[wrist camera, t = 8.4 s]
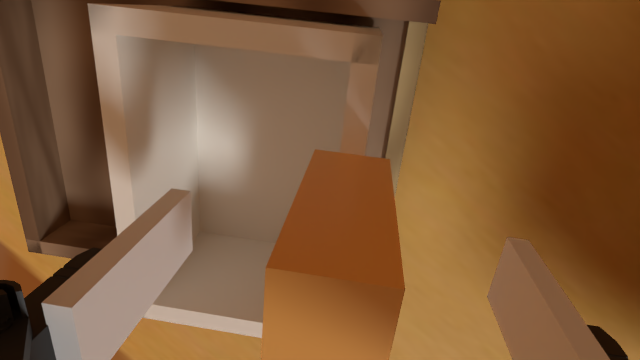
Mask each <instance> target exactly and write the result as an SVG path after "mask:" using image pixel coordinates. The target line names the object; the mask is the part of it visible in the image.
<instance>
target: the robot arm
mask: <svg viewBox="0 0 640 360" xmlns="http://www.w3.org/2000/svg"><path fill="white" fill-rule="evenodd" d="M192 251H193V242H192V217H191V191H187V190H180V189H173V188H171V189H170V190H169V191H168V192H167V193H166V194H165V195H163V196H162V197H161V198H160V199H159V200H158V201H157V202H155V203H154V204H153V205H152V206H151V207H150V208H149V209H147V210H146V211H145V212H144V213H143V214H142V215H141V216H139V217H138V218H137V219H136V220H135V221H134V222H133V223H132V224H130V225H129V226H128V227H127V228H126V229H125V230H124V231H122V232H121V233H120V234H119V235H118V236H117V237H116V238H114V239H113V240H112V241H111V242H110V243H109V244H108V245H107V246H105V247H104V248H103V249H100V248H94V247H93V248H91V249H89V250H87V251H85V252H83V253H80V254H78V255H76V256H75V257H74V258H73V259H71V260H70V261H69V262H68V263H67V264H65V265H64V267H63V268H60V269H59V270H58V271H57V272H56V273H54V274H53V277H50V278H48V279H47V280H46V281H45V282H43V283H42V284H41V285H40V286H39V287H37V288H36V289H35V290H34V291H33V292H31V293H30V294H29V295H28V296H27V297H25V298H24V297H23V293H22V290H21V286H20V284H18V283H16V282H15V281H8V280H0V360H111V358H112V357H113V356H114V354H115V353H116V352H117V350H118V349H119V348H120V346H121V345H122V344H123V342H124V341H125V340H126V338H127V337H128V336H129V334H130V333H131V332H132V330H133V329H134V328H135V327H136V325H137V324H138V323H139V321H140V320H141V319H142V317H143V316H144V315H145V313H146V312H147V311H148V309H149V308H150V307H151V305H152V304H153V303H154V301H155V300H156V299H157V297H158V296H159V295H160V293H161V292H162V291H163V289H164V288H165V287H166V285H167V284H168V283H169V281H170V280H171V279H172V277H173V276H174V275H175V273H176V272H177V271H178V269H179V268H180V267H181V265H182V264H183V263H184V261H185V260H186V259H187V257H188V256H189V255H190V253H191V252H192ZM487 297H488V300H489V302H490V305H491V307H492V310H493V312H494V315H495V317H496V320H497V322H498V325H499V327H500V330H501V332H502V335H503V337H504V340H505V342H506V345H507V347H508V350H509V352H510V355H511V357H512V360H628V356H627V355H626V354H625V352H624V351H623V350H622V348H621V347H620V345H619V344H618V343H617V341H615V340H614V339H613V338H612V337H611V336H610V335H608V334H607V333H606V332H605V331H604V330H603V329H601V328H600V327H598V326H592V325H586V323H585V322H584V320H583V319H582V318H581V316H580V315H579V313H578V312H577V310H576V309H575V307H574V306H573V304H572V303H571V301H570V300H569V298H568V297H567V296H566V294H565V293H564V291H563V290H562V288H561V287H560V285H559V284H558V282H557V281H556V279H555V278H554V276H553V275H552V273H551V272H550V271H549V269H548V268H547V266H546V265H545V263H544V262H543V260H542V259H541V257H540V256H539V254H538V253H537V251H536V250H535V249H534V247H533V246H532V244H531V243H530V241H529V240H525V239H518V238H511V237H507V239H506V242H505V245H504V248H503V251H502V254H501V257H500V260H499V263H498V266H497V269H496V272H495V275H494V278H493V281H492V284H491V287H490V290H489V293H488V296H487Z"/></svg>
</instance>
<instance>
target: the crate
mask: <svg viewBox="0 0 640 360" xmlns="http://www.w3.org/2000/svg"><path fill="white" fill-rule="evenodd" d="M87 4H88V12H89V20H90V27H91V35H92V43H93V51H94V59H95V66H96V74H97V82H98V90H99V97H100V105H101V113H102V121H103V128H104V136H105V144H106V152H107V159H108V167H109V175H110V183H111V191H112V198H113V206H114V214H115V222H116V229H117V236H118V235H119V234H120V233H121V232H122V231H124V230H125V229H126V228H127V227H128V226H129V225H130V224H132V223H133V222H134V221H135V220H136V219H137V218H138V217H139V216H141V215H142V214H143V213H144V212H145V211H146V210H147V209H149V208H150V207H151V206H152V205H153V204H154V203H155V202H157V201H158V200H159V199H160V198H161V197H162V196H163V195H165V194H166V193H167V192H168V191H169V190H170V189H171V188H173V189H180V190H187V191H191V217H192V242H193V251H192V252H191V253H190V255H189V256H188V257H187V259H186V260H185V261H184V263H183V264H182V265H181V267H180V268H179V269H178V271H177V272H176V273H175V275H174V276H173V277H172V279H171V280H170V281H169V283H168V284H167V285H166V287H165V288H164V289H163V291H162V292H161V293H160V295H159V296H158V297H157V299H156V300H155V301H154V303H153V304H152V305H151V307H150V308H149V309H148V311H147V312H146V313H145V315H144V316H143V317H142V318H148V319H154V320H160V321H166V322H172V323H177V324H183V325H189V326H195V327H201V328H207V329H213V330H218V331H224V332H230V333H236V334H242V335H248V336H253V337H259V338H262V348H261V360H389V357H390V352H391V348H392V344H393V339H394V335H395V331H396V326H397V322H398V318H399V313H400V309H401V305H402V300H403V296H404V291H405V285H404V277H403V268H402V259H401V251H400V242H399V233H398V225H397V216H396V207H395V199H394V190H393V181H392V173H391V164H390V159H385V158H377V157H370V156H365V151H366V145H367V138H368V131H369V125H370V118H371V112H372V105H373V99H374V92H375V86H376V79H377V72H378V66H379V59H380V53H381V46H382V40H383V35H382V32H381V30H380V28H379V27H370V26H361V25H352V24H342V23H333V22H324V21H315V20H306V19H297V18H288V17H279V16H269V15H260V14H251V13H242V12H233V11H224V10H215V9H205V8H196V7H187V6H165V5H130V4H94V3H87Z"/></svg>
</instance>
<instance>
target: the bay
mask: <svg viewBox="0 0 640 360" xmlns="http://www.w3.org/2000/svg"><path fill="white" fill-rule="evenodd" d="M440 2H441V1H439V0H0V133H1V138H2V142H3V146H4V150H5V154H6V159H7V163H8V167H9V171H10V175H11V179H12V184H13V188H14V192H15V196H16V200H17V205H18V209H19V213H20V217H21V221H22V225H23V230H24V234H25V238H26V242H27V246H28V251H29V252H35V253H41V254H47V255H53V256H59V257H66V258H72V259H73V258H74V257H75V256H76V255H78V254H80V253H83V252H85V251H87V250H89V249H91V248H93V247H94V248H100V249H103V248H104V247H105V246H107V245H108V244H109V243H110V242H111V241H112V240H113V239H114V238H116V237H117V229H116V222H115V214H114V206H113V198H112V191H111V183H110V175H109V167H108V159H107V152H106V144H105V136H104V128H103V121H102V113H101V105H100V97H99V90H98V82H97V74H96V66H95V59H94V51H93V43H92V35H91V27H90V20H89V12H88V4H87V3H94V4H130V5H165V6H187V7H196V8H205V9H215V10H224V11H233V12H242V13H251V14H260V15H269V16H279V17H288V18H297V19H306V20H315V21H324V22H333V23H342V24H352V25H361V26H370V27H379V28H380V30H381V32H382V35H383V40H382V46H381V53H380V59H379V66H378V72H377V79H376V86H375V92H374V99H373V105H372V112H371V118H370V125H369V131H368V138H367V145H366V151H365V156H370V157H377V158H385V159H390V164H391V173H392V181H393V190H394V198H395V193H396V188H397V183H398V177H399V172H400V167H401V162H402V157H403V152H404V146H405V141H406V136H407V131H408V126H409V121H410V116H411V110H412V105H413V100H414V95H415V90H416V85H417V79H418V74H419V69H420V64H421V59H422V54H423V48H424V43H425V38H426V33H427V28H428V23H430V24H436V21H437V17H438V12H439V7H440Z"/></svg>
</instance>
